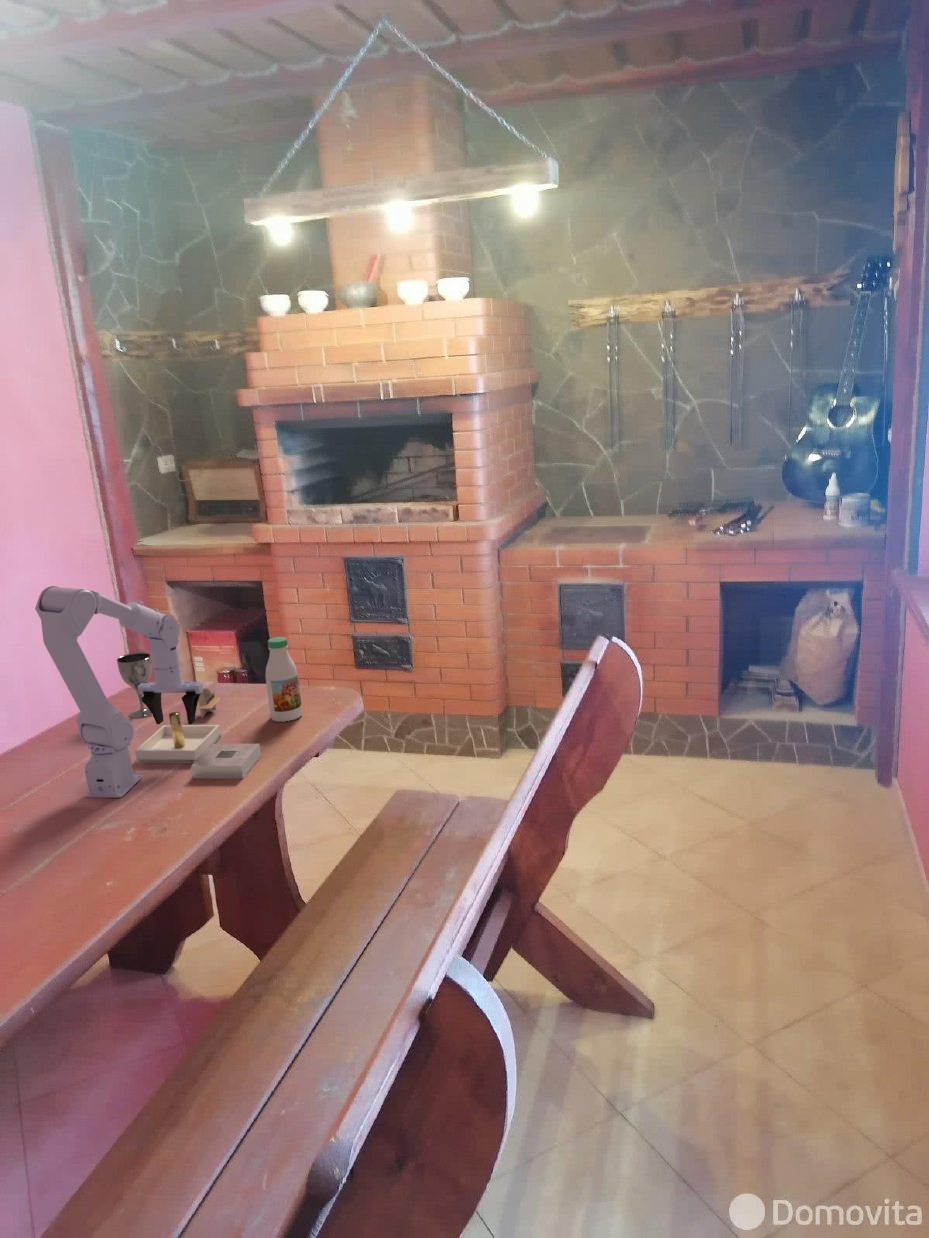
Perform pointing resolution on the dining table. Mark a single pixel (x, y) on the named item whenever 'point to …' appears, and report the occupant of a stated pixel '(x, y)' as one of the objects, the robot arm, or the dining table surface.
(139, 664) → the wine glass
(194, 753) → the tray
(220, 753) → the grey square socket block
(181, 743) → the pin
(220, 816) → the dining table surface
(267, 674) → the milk bottle
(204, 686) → the architectural model
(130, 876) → the dining table surface
